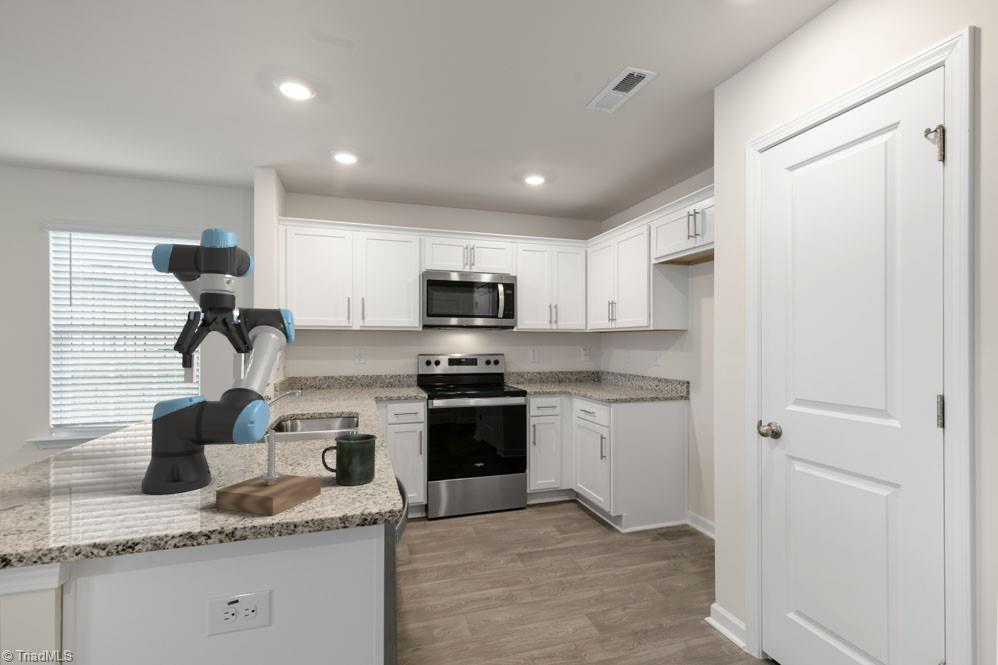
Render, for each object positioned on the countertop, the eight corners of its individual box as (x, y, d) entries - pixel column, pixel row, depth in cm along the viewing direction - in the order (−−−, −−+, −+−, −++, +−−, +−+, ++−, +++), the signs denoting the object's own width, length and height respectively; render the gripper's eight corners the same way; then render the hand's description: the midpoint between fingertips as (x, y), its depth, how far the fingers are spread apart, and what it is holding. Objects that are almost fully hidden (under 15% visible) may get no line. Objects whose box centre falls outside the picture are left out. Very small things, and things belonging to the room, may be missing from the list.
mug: (379, 483, 127) (380, 439, 127) (322, 490, 121) (323, 443, 121) (372, 473, 137) (373, 432, 137) (319, 479, 130) (320, 436, 131)
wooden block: (215, 508, 107) (216, 490, 107) (268, 488, 122) (269, 472, 122) (272, 515, 102) (273, 497, 102) (320, 494, 117) (320, 478, 117)
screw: (258, 483, 113) (280, 480, 115) (260, 488, 109) (283, 484, 111) (259, 428, 113) (281, 427, 116) (262, 432, 109) (284, 430, 112)
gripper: (182, 286, 101) (179, 384, 100) (268, 298, 125) (266, 377, 124) (156, 287, 103) (153, 383, 102) (246, 298, 127) (243, 376, 126)
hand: (215, 380), depth 113 cm, fingers open, 13 cm apart
